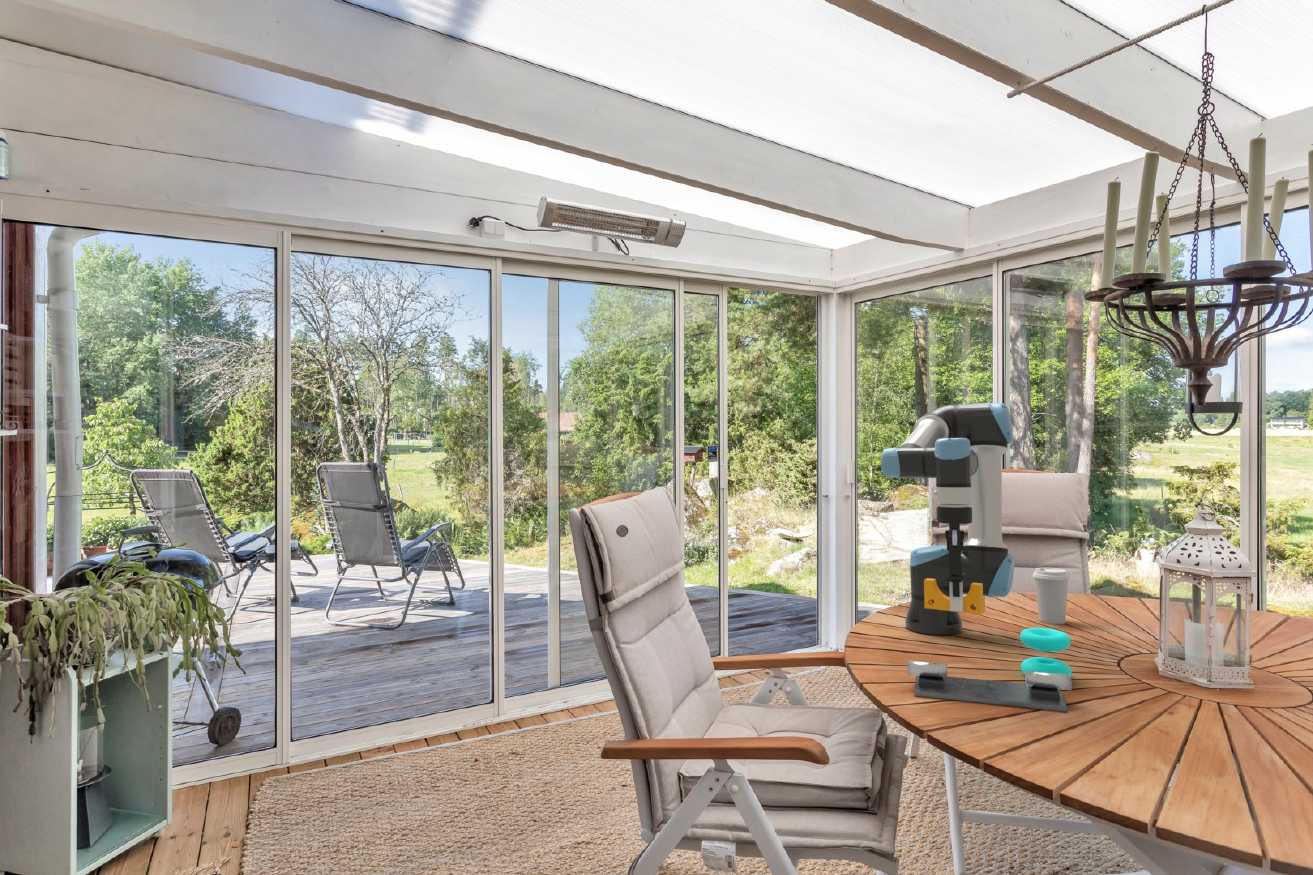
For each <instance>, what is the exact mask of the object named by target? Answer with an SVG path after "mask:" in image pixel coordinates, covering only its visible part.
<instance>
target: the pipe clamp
mask: <svg viewBox="0 0 1313 875" xmlns="http://www.w3.org/2000/svg"><path fill="white" fill-rule="evenodd" d="M931 599H932V600H934V603H933V602H932V601H931ZM924 604H925V608H928V609H937V610H945V611H950V597H948V596H946V595H944V594H943V593H942V592H941V591H940V590H939V588H938V586H937V583H936V579H930V578H927V579H925V580H924ZM954 612H959V613H964V614H973V615H982V614H984V612H986V596H983V583H972V584H971V587H970V591H969V593H968V594H967V595H966V594H965V596H963V612H960V611H954Z"/></svg>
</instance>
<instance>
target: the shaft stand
mask: <svg viewBox="0 0 1313 875" xmlns="http://www.w3.org/2000/svg"><path fill="white" fill-rule="evenodd" d="M908 675H909V676H915V682H914V683H915V684H914V697H923V698H932V699H939V700H940V699H942V700H949V701H950V700H951V701H958V702H959V701H961V702H970V703H978V704H990V705H999V706H1006V707H1015V708H1016V707H1018V708H1025V709H1032V710H1033V709H1035V710H1036V709H1037V710H1044V711H1045V710H1046V711H1052V710H1053V711H1054V712H1063V713H1067V712H1068V706H1067V704H1066V701H1065V699H1064V697H1063V695H1062V693H1061V691H1060V690H1064V691H1072V676H1070V675H1067V674H1056V673H1045V672H1033V671H1025V674H1024V678H1025V679H1024V680H1025V683H1019V682H1011V681H1010V682H1009V681H1000V680H989V679H978V678H966V677H956V676H948V663H939V662H930V661H920V660H910V659H909V660H907V676H908ZM1053 711H1052V712H1053Z"/></svg>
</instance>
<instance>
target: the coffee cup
mask: <svg viewBox="0 0 1313 875" xmlns="http://www.w3.org/2000/svg"><path fill="white" fill-rule="evenodd" d="M1032 577H1033V578H1034V584H1035V585H1034V586H1035V592H1036V600H1037V610H1038V617H1039V621H1040V622H1041V621H1042V622H1041V623H1044V622H1045V623H1044V624H1049V625H1063V624H1066V618H1067V617H1066V614H1067V601H1068V587H1069V580H1070V579H1071V578H1070V574H1068V572H1067V570H1066V569H1063V568H1057V567H1036V568H1035V569H1034V572H1033V573H1032Z"/></svg>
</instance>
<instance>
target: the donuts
mask: <svg viewBox="0 0 1313 875" xmlns="http://www.w3.org/2000/svg"><path fill="white" fill-rule="evenodd" d="M1019 638H1020V640H1021V642H1022V643H1023V644H1024V645H1025V646H1027V647H1028V648H1030V649H1034V650H1037V651H1041V652H1061V651H1065V650H1066V649H1068V648H1070V646H1071V642H1072V640H1071V637H1070V636H1069V634H1067V633H1066V632H1063V631H1060V630H1057V629H1053V628H1046V627H1030V628H1026V629H1023V630H1022V631H1020V634H1019ZM1020 670H1021V672H1022V674H1024V675H1025V671H1033V672H1045V673H1056V674H1067V675H1070V676H1071V677H1073V676H1072V674H1073V671H1072V668H1071V667H1070V666H1069V665H1068V664H1067V663H1065V662H1063V661H1061V660H1058V659H1056V658H1053V657H1052V658H1051V657H1045V656H1035V657H1034V656H1033V657H1029V658H1026V659H1024V660H1023V661H1022V663H1021V665H1020Z"/></svg>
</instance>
